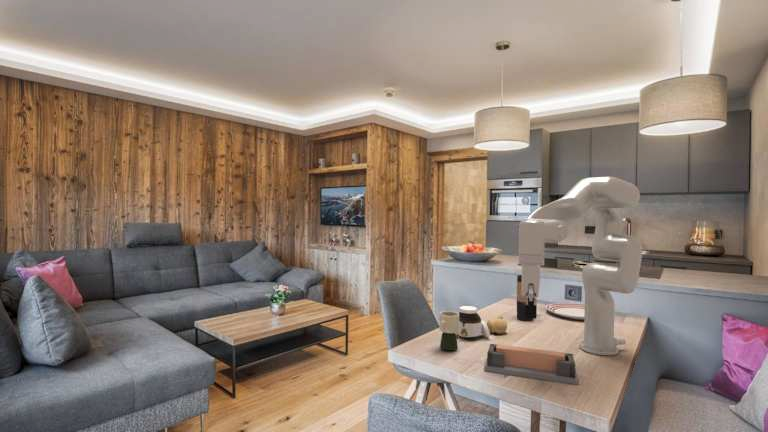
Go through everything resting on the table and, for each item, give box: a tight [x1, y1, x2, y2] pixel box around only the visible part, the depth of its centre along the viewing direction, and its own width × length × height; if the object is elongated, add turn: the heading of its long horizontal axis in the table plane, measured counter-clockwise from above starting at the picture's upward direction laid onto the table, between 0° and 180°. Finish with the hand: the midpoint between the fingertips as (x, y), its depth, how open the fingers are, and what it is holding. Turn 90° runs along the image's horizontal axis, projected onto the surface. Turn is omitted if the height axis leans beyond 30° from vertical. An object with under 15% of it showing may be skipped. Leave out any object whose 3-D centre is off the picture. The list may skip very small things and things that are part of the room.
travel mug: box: [516, 274, 534, 322], centre depth 183 cm, size 8×8×20 cm
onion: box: [486, 314, 508, 335], centre depth 163 cm, size 8×8×7 cm
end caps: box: [486, 343, 576, 378], centre depth 124 cm, size 25×9×4 cm, turn 69°
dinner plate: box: [545, 302, 585, 321], centre depth 192 cm, size 28×27×3 cm
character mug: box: [438, 310, 459, 351], centre depth 143 cm, size 11×7×13 cm, turn 141°
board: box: [483, 358, 580, 386], centre depth 124 cm, size 27×11×2 cm, turn 69°
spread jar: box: [456, 305, 491, 341], centre depth 157 cm, size 12×11×12 cm
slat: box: [496, 344, 565, 372], centre depth 124 cm, size 20×4×5 cm, turn 69°
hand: (530, 313), depth 124 cm, fingers open, 9 cm apart
